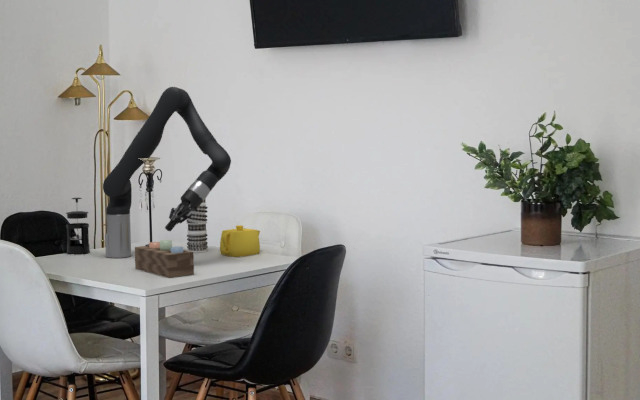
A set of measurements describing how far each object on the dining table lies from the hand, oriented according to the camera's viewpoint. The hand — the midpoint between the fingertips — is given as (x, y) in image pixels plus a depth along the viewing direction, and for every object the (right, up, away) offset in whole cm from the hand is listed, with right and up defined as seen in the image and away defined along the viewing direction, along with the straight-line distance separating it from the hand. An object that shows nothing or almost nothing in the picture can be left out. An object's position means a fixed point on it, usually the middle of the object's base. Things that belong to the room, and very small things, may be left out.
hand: (167, 229), depth 317 cm
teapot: (+25, -11, +32) cm, 42 cm away
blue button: (+6, -11, -15) cm, 20 cm away
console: (0, -15, -9) cm, 17 cm away
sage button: (+1, -9, -9) cm, 13 cm away
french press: (-43, -11, +37) cm, 58 cm away
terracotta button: (-4, -10, -2) cm, 11 cm away
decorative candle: (+5, -11, +40) cm, 41 cm away
